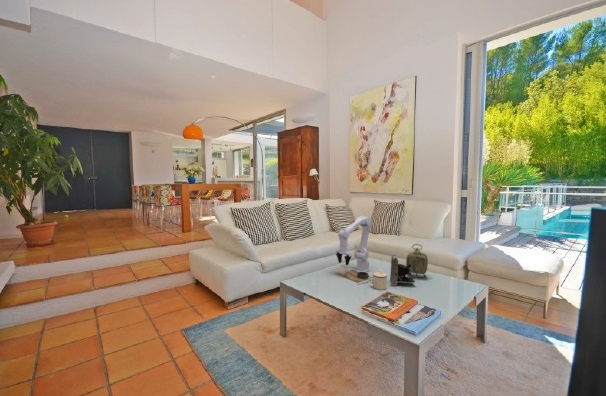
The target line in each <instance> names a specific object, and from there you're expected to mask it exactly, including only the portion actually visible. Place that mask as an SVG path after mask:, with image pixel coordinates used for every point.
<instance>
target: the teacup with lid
mask: <svg viewBox="0 0 606 396" xmlns="http://www.w3.org/2000/svg"><path fill="white" fill-rule="evenodd" d="M369 276H370V277H369V279H368V282H369V283H370V284H372V285H373V286H372V287H373V288H374V289H375V290H382V291H383V290H386V289H387V277H388V275H387V273H385V272H383V271H382V270H380V269H379V270H378V271H376V272H374V273H373V274H372V275H369ZM371 277H372V278H371ZM370 278H371V279H372V280H371V279H370ZM370 280H371V281H370Z"/></svg>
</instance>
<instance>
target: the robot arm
mask: <svg viewBox="0 0 606 396" xmlns="http://www.w3.org/2000/svg"><path fill="white" fill-rule="evenodd" d="M371 225H372V219H371V217H370V216H361V215H359V216H357V218H356V219H355V221H354V222H353V223H351V224H348V225H347V226H346V227H345V228H343V229H341V230H339V232H338V233H337V237H338V239H339V249H336V251H335V256H336V257H337V261H338V263H339V264H341V263H342V260H343V259H342V258H343V256H344V260H345V265H346V266H349V265H350V260H352V259H351V258H352V253H350V252H349V251H348V238H350V235H351V234H352V233H353V232H354V231H355V228H357V227H358V226H360V227H361V228H362V230H361V231H362V232H361V238H360V243H359V247H358V248H356V250H355V253H354V257H355V260H356V271H357V270H358V271H361V272H368V271H370V262H369V260H368V259H369V251H368V249H367V245H368V240H369V234H370V229H371Z"/></svg>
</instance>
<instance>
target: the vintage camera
mask: <svg viewBox="0 0 606 396" xmlns="http://www.w3.org/2000/svg"><path fill="white" fill-rule="evenodd" d="M390 260H391V261H390V276H389V277H390V278H389V279H390V283H391V285H392V286H393V287H396V286H397V285H398V282H399V283H416V281H415V279H414V277H412V276H411V277H410V276H409V273H410V269H409V267H411V265H410V264H408V265H409V266H406V264H401V263H399V259H398V257H397V255H396V254H393V255H391V259H390Z"/></svg>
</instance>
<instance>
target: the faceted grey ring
mask: <svg viewBox="0 0 606 396" xmlns="http://www.w3.org/2000/svg"><path fill="white" fill-rule="evenodd" d="M368 275H369V273H368V272H367V271H358V273H357V277H358V278H361V279H367V278H368Z"/></svg>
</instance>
